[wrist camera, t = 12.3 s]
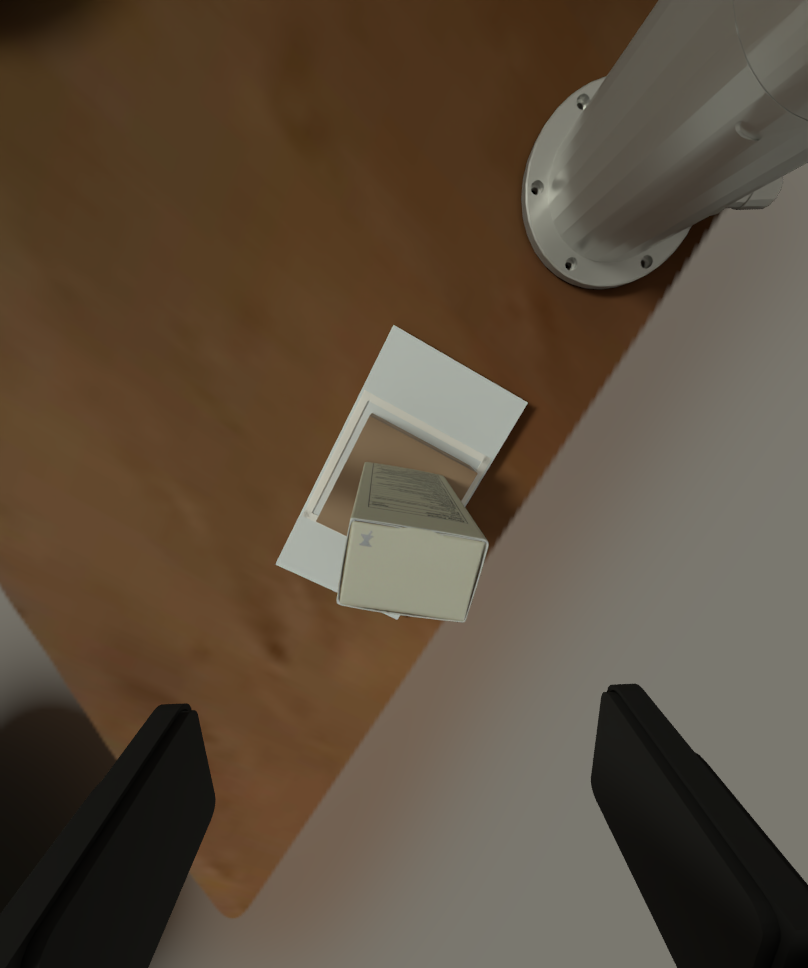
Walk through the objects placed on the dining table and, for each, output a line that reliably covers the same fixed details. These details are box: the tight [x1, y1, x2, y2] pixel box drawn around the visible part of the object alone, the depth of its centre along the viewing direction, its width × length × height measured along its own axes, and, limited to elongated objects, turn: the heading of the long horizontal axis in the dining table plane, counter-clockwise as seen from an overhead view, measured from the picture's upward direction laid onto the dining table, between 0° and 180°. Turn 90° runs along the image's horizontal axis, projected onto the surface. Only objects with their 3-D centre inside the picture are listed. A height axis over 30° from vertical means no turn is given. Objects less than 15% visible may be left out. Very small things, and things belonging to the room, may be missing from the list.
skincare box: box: [337, 462, 489, 622], centre depth 22 cm, size 6×4×12 cm
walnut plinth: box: [316, 413, 478, 536], centre depth 29 cm, size 9×9×3 cm
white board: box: [276, 325, 528, 620], centre depth 31 cm, size 22×12×1 cm, turn 152°
